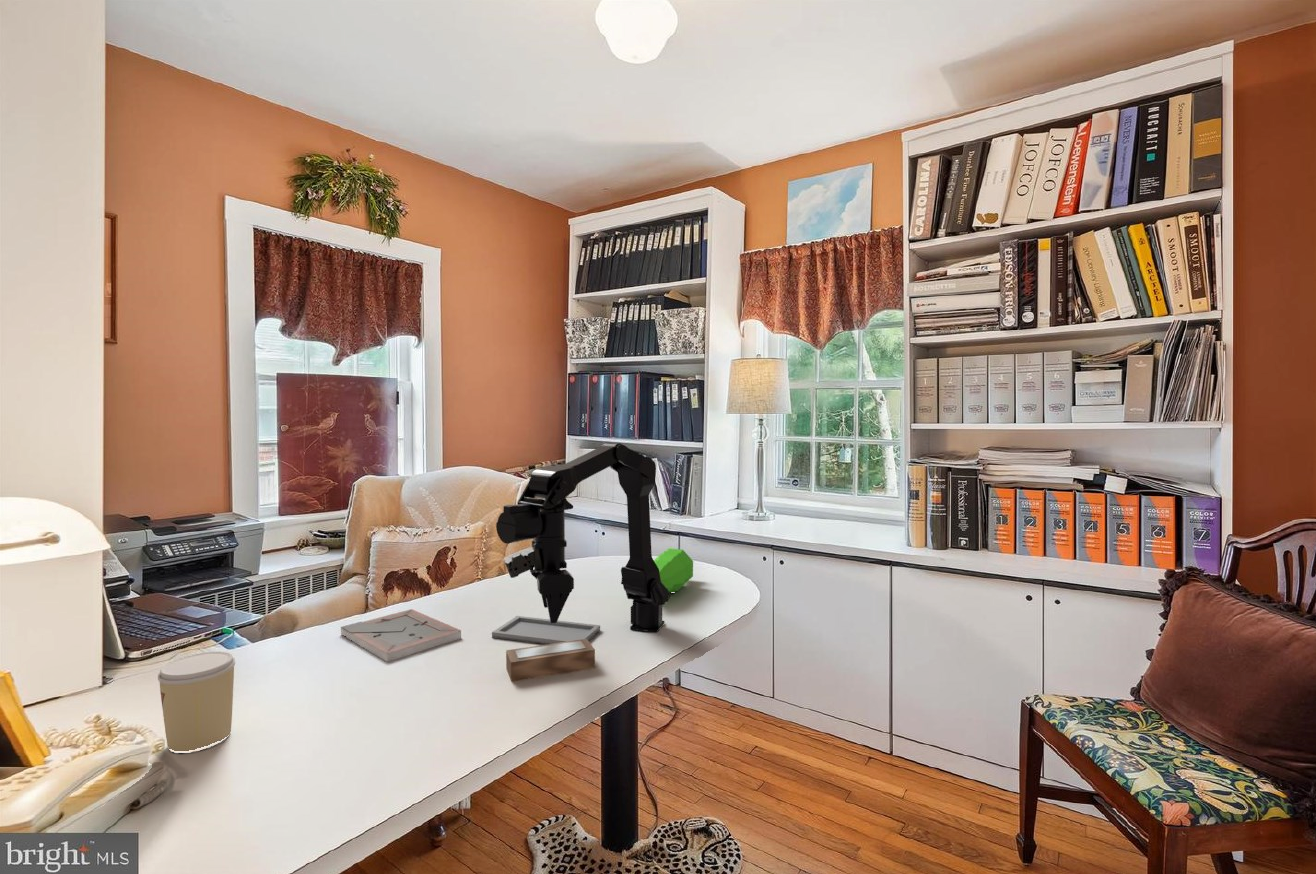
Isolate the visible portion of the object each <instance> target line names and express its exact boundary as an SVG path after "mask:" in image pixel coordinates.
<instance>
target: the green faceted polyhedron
mask: <svg viewBox="0 0 1316 874" xmlns="http://www.w3.org/2000/svg"><path fill="white" fill-rule="evenodd" d="M653 560H654V562H655V563H656V565H657V567H658V569H659V573H660V579H661V583H662V584H663V585H664V586H665V587H666V588H667V590H668V591H669V592H675V591H677V592H678V591H679V590H680V589H681V588H682V587H684V586H685V584H686V583H687V582H689V581H690V580H691V579H692V578H693V577H694V560H693V559H692V558H691V557H690V556H689V555H688V554H687V552H686V551H685V550H684V549H679V548H667V549H666V550H663V552H661V553H660V554H659V555H658V556H657V557H655V558H654V559H653Z"/></svg>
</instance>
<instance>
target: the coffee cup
mask: <svg viewBox="0 0 1316 874" xmlns="http://www.w3.org/2000/svg"><path fill="white" fill-rule="evenodd" d="M235 665H236V659H235V657H234V656H233V654H232V653H230V652H228V651H221V650H220V651H216V650H215V651H203V652H198V653H194V654H190V655H185V656H182V657H179V658H177V659H176V658H175V659H174V660H172V661H170V662H168V663H166V664H164V665H163V666H162V667H161V669H160V671H159V672H158V674H157V680H158V682H159V691H160V693H159V694H160V700H161V709H162V717H163V723H164V730H165V731H164V732H165V738H166V745H167V748H168V747H169V749H172V750H174V751H189V750H195V749H197V748H201V747H204V746H208V745H210V744H212V743H215V742H217V741H221V740H222V739H224V738H225V737H227V736H228V735H229V734H230V735H231V733H230V732H232V722H233V720H232V719H233V705H234V703H233V702H234V679H235Z"/></svg>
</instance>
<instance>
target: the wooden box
mask: <svg viewBox="0 0 1316 874" xmlns="http://www.w3.org/2000/svg"><path fill="white" fill-rule="evenodd" d="M589 641H590V640H589ZM589 641H588V640H587V639H581V640H574V641H567V642H560V643H553V644H540V645H535V646H534V645H533V646H527V647H521V648H520V647H519V648H513V649H505V660H506V661H505V663H506V665H505V666H506V672H507V674H508V676H509V680H510V682H511V683H513V682H518V681H523V680H530V679H537V678H542V677H549V676H556V675H561V674H566V673H567V674H568V673H572V672H579V671H580V672H581V671H586V670H592V669H596V649H595V648H594V646H593V645H592V644H591V642H589Z"/></svg>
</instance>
